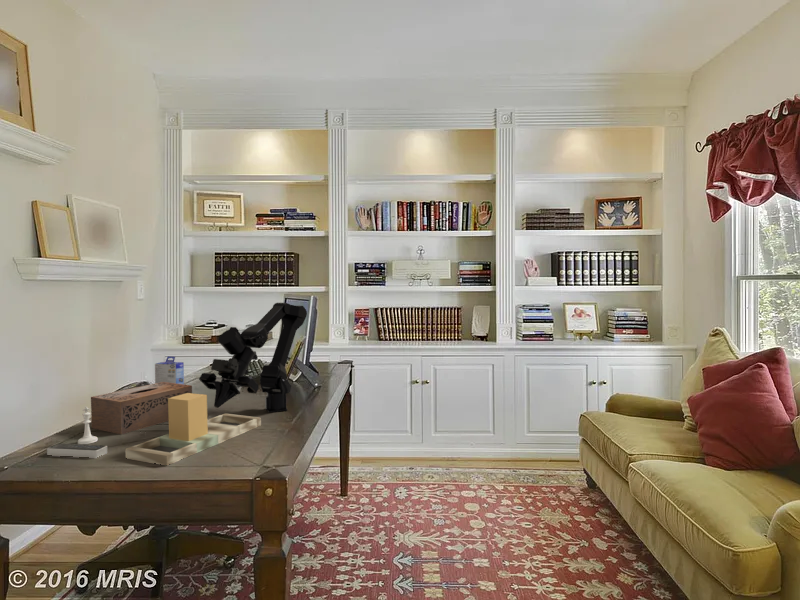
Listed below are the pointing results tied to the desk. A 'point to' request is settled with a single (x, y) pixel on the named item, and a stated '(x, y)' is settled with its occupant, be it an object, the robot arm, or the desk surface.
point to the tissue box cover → (134, 407)
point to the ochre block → (187, 416)
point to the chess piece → (87, 430)
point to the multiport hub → (77, 450)
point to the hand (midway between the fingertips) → (215, 407)
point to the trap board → (175, 450)
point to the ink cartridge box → (169, 371)
